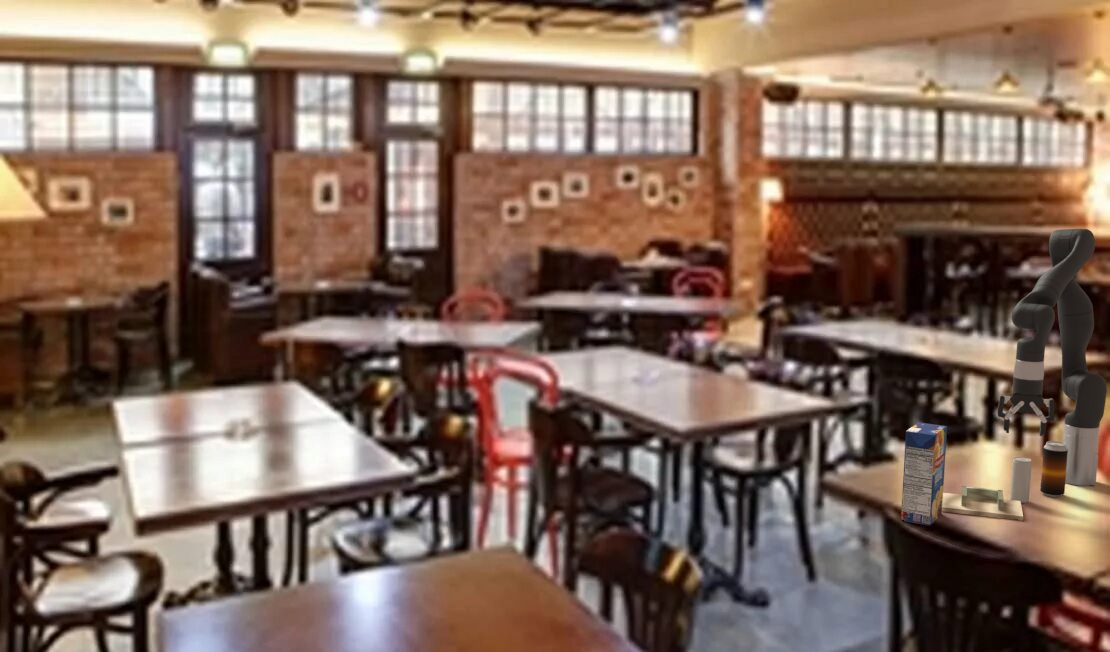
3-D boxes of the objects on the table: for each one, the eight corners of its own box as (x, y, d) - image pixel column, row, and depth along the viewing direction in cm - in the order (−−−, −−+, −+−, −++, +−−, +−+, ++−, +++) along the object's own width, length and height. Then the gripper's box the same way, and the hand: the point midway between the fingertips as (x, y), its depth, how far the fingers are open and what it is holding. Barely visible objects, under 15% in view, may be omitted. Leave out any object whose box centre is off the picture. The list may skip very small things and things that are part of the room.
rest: (1020, 505, 292) (1021, 490, 291) (1022, 520, 279) (1024, 505, 278) (942, 496, 299) (943, 482, 298) (941, 511, 286) (942, 496, 285)
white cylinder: (1006, 498, 297) (1009, 457, 296) (1023, 498, 298) (1026, 456, 296) (1015, 503, 293) (1018, 461, 291) (1032, 503, 293) (1035, 461, 291)
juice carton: (913, 508, 288) (918, 422, 284) (941, 513, 284) (947, 426, 280) (900, 520, 278) (905, 431, 274) (929, 525, 274) (935, 435, 270)
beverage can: (1062, 492, 303) (1066, 441, 301) (1065, 499, 297) (1069, 447, 295) (1039, 490, 305) (1042, 439, 303) (1041, 496, 299) (1045, 444, 297)
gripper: (1056, 375, 291) (1051, 433, 294) (1000, 371, 296) (995, 428, 299) (1058, 380, 284) (1053, 439, 287) (1000, 376, 289) (996, 434, 292)
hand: (1024, 434), depth 293 cm, fingers open, 8 cm apart
